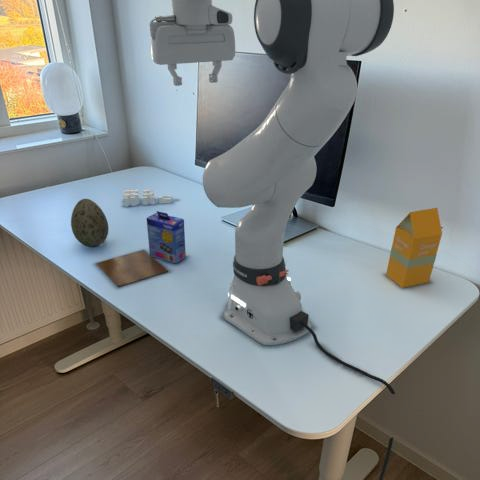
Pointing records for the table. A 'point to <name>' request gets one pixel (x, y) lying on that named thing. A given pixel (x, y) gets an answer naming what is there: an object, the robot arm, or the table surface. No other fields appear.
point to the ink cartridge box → (166, 237)
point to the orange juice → (415, 248)
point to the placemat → (131, 268)
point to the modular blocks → (148, 198)
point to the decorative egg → (89, 223)
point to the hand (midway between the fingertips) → (195, 83)
